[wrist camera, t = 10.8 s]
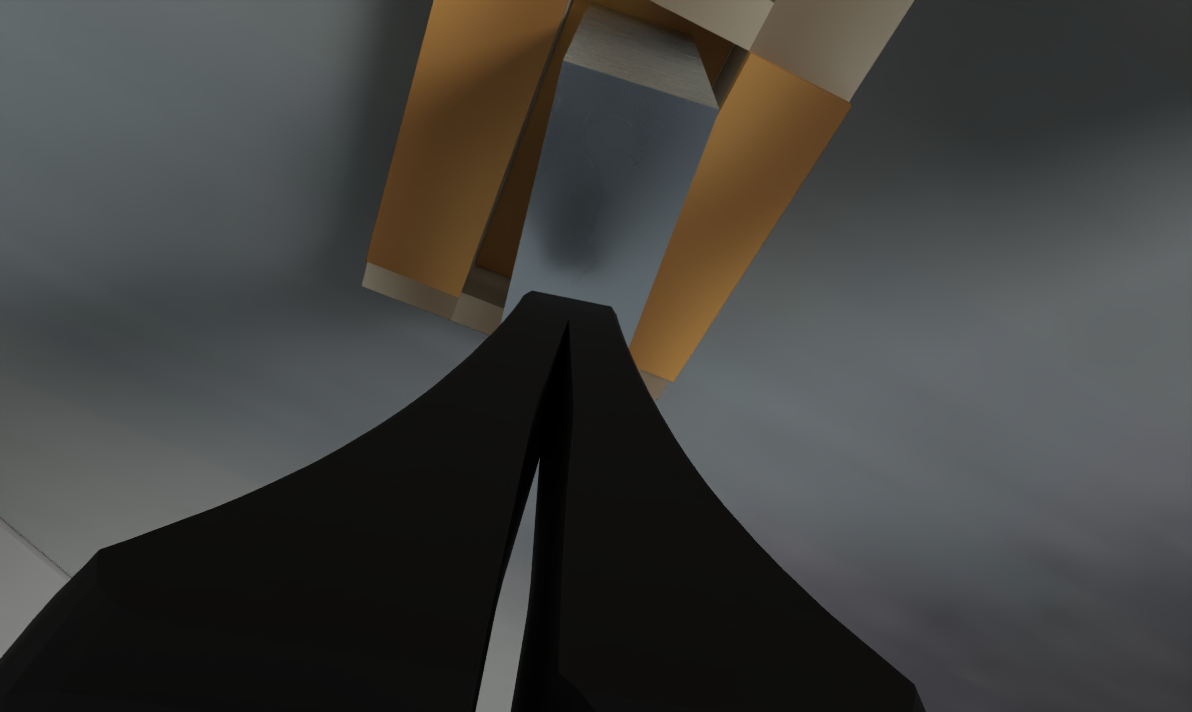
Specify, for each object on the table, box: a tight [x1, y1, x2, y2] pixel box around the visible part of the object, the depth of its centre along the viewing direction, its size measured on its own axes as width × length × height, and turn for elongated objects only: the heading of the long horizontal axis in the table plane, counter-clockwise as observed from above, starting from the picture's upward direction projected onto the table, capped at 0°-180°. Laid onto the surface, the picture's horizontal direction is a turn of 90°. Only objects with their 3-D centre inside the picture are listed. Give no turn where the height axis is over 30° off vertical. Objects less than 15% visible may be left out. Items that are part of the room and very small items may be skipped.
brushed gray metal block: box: [501, 2, 719, 348], centre depth 15 cm, size 2×7×6 cm, turn 164°
